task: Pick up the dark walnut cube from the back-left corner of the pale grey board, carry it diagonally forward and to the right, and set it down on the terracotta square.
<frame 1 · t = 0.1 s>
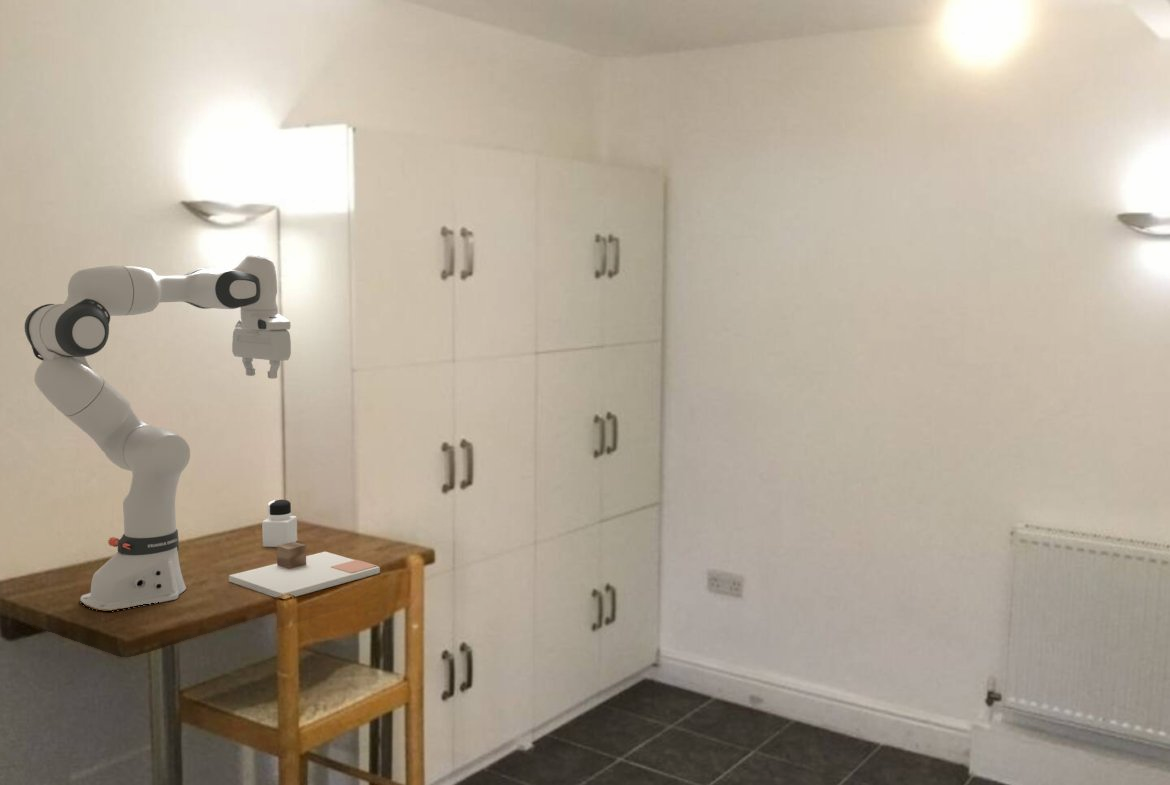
hand: (261, 376, 266), 48 cm above the table, fingers open, 8 cm apart
walnut cube: (291, 565, 265), point 1 cm above the table, touching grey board
medicine bottle: (280, 544, 291), on the table
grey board: (305, 577, 260), on the table
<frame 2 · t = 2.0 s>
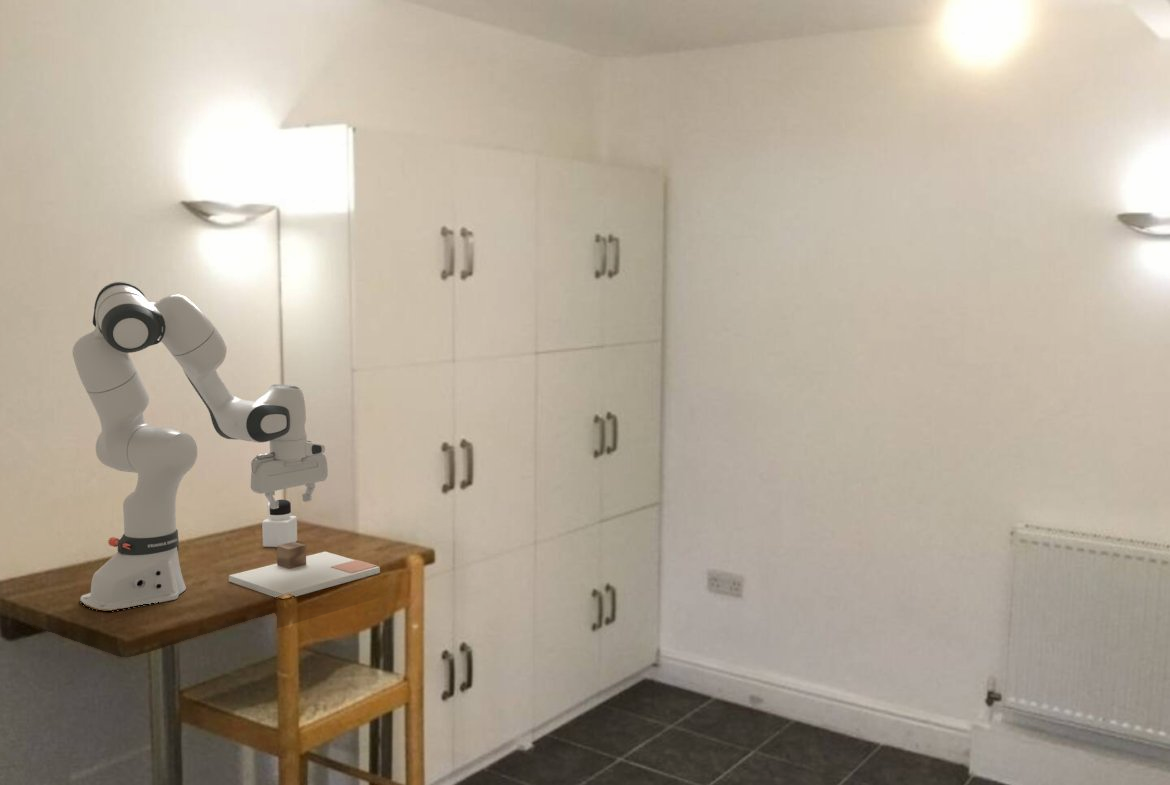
hand: (291, 504, 264), 17 cm above the table, fingers open, 8 cm apart
nothing on the table moved.
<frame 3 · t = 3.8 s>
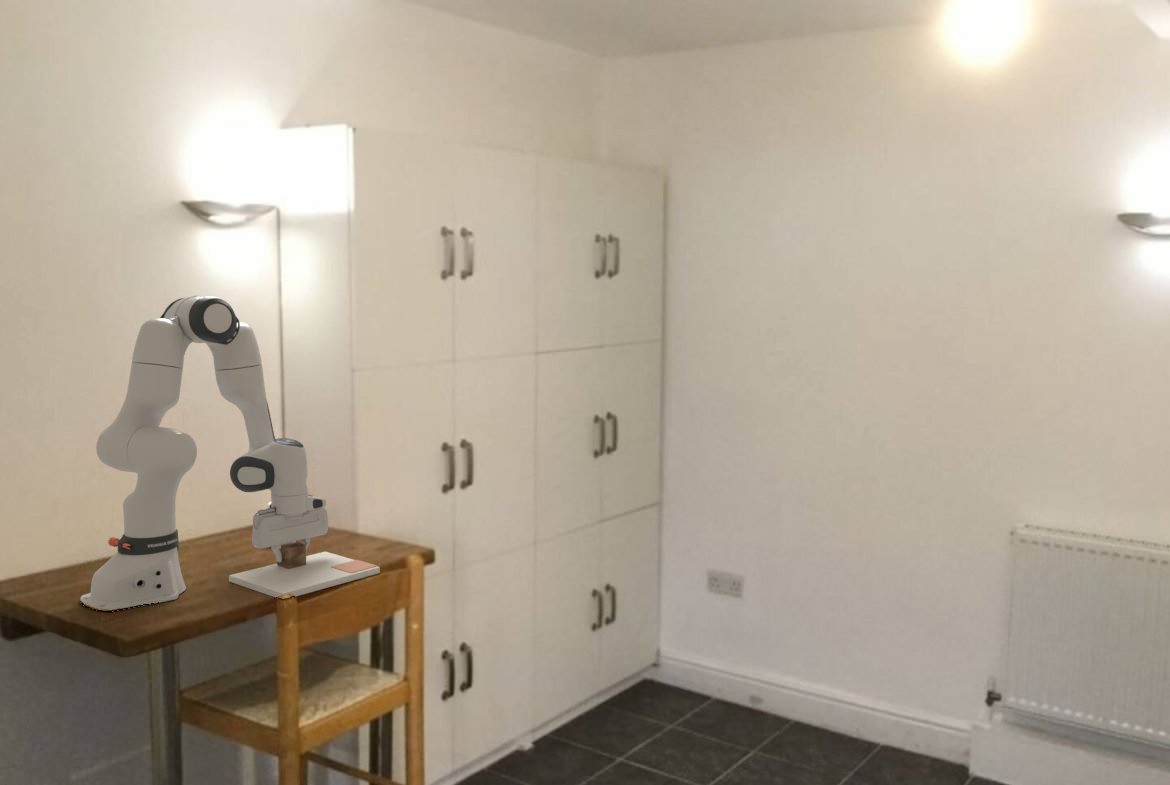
hand: (291, 558, 265), 3 cm above the table, fingers closed on walnut cube, 5 cm apart
walnut cube: (291, 565, 265), point 2 cm above the table, touching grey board, gripper
everything else where it was.
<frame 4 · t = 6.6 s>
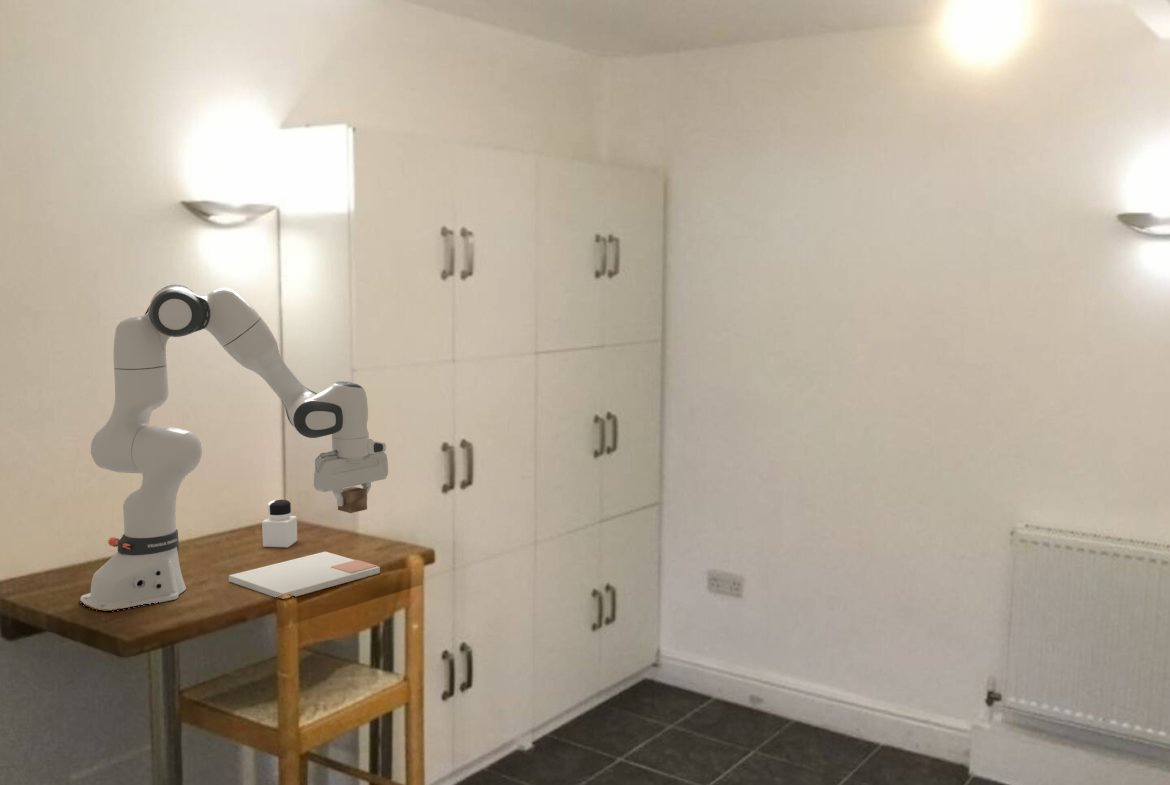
hand: (352, 503, 262), 18 cm above the table, fingers closed on walnut cube, 5 cm apart
walnut cube: (352, 509, 262), point 16 cm above the table, touching gripper
everything else where it was.
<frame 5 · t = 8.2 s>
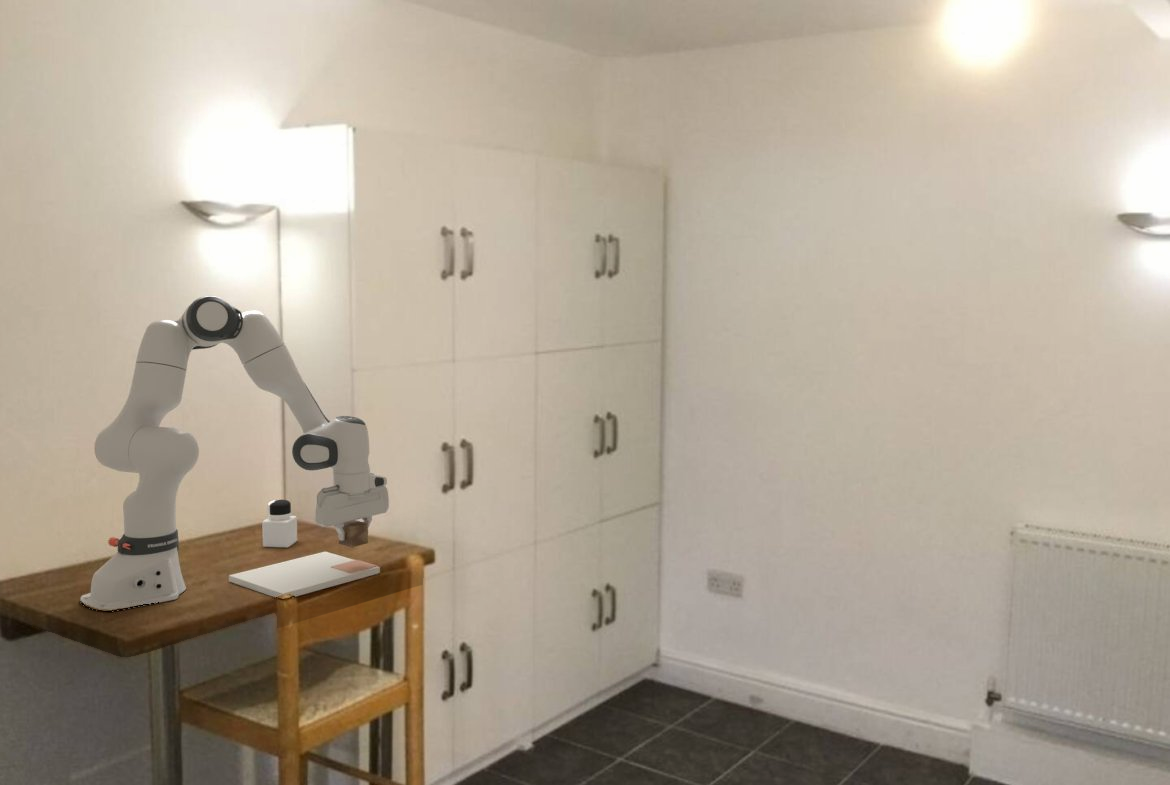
hand: (353, 537, 263), 9 cm above the table, fingers closed on walnut cube, 5 cm apart
walnut cube: (353, 543, 264), point 7 cm above the table, touching gripper
everything else where it was.
when the fingers open (5 cm above the table, at t = 9.5 s): walnut cube drops 1 cm, resting on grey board.
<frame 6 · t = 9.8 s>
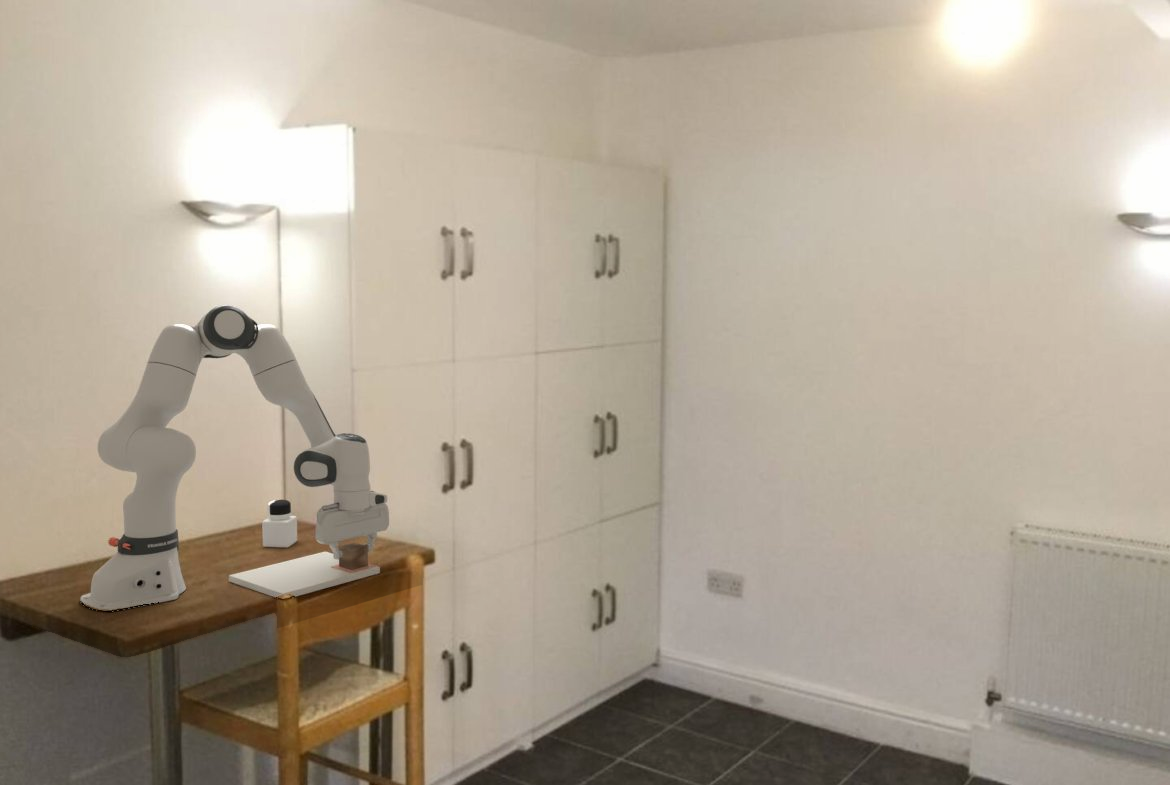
hand: (353, 554, 263), 5 cm above the table, fingers open, 8 cm apart
walnut cube: (353, 566, 264), point 2 cm above the table, touching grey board
everything else where it was.
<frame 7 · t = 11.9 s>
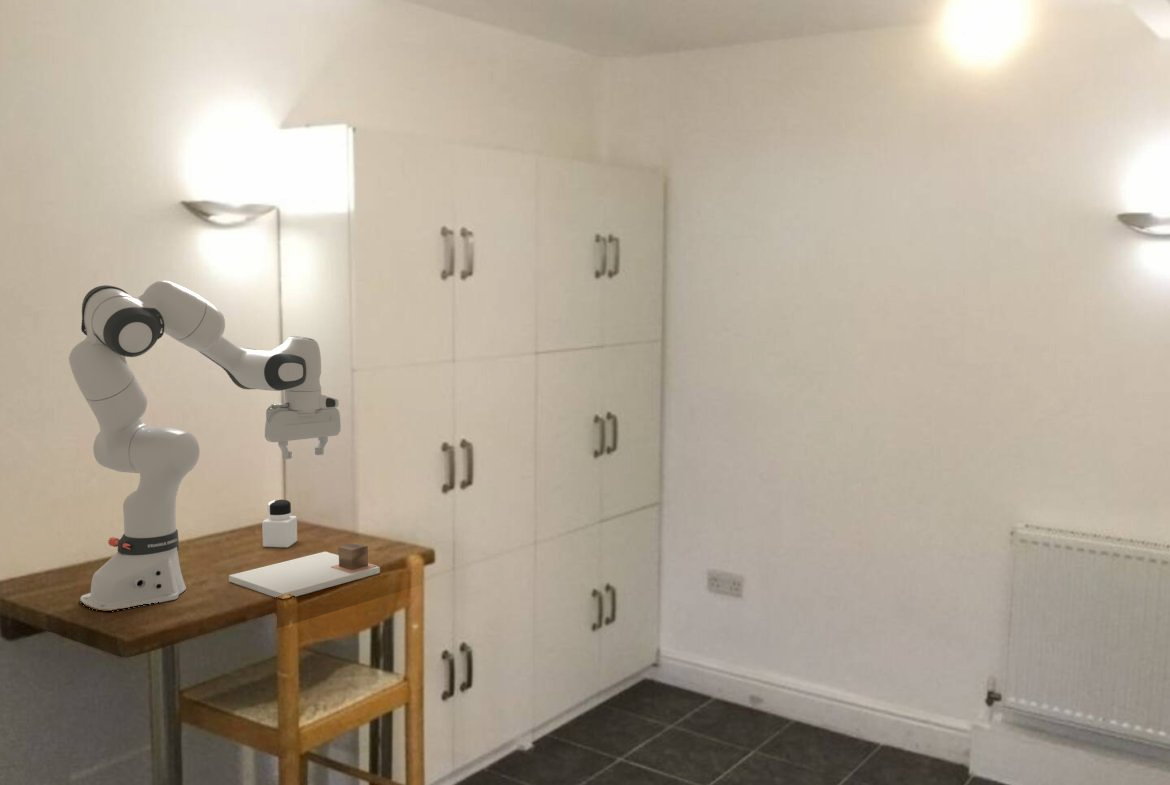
hand: (303, 456, 266), 28 cm above the table, fingers open, 8 cm apart
nothing on the table moved.
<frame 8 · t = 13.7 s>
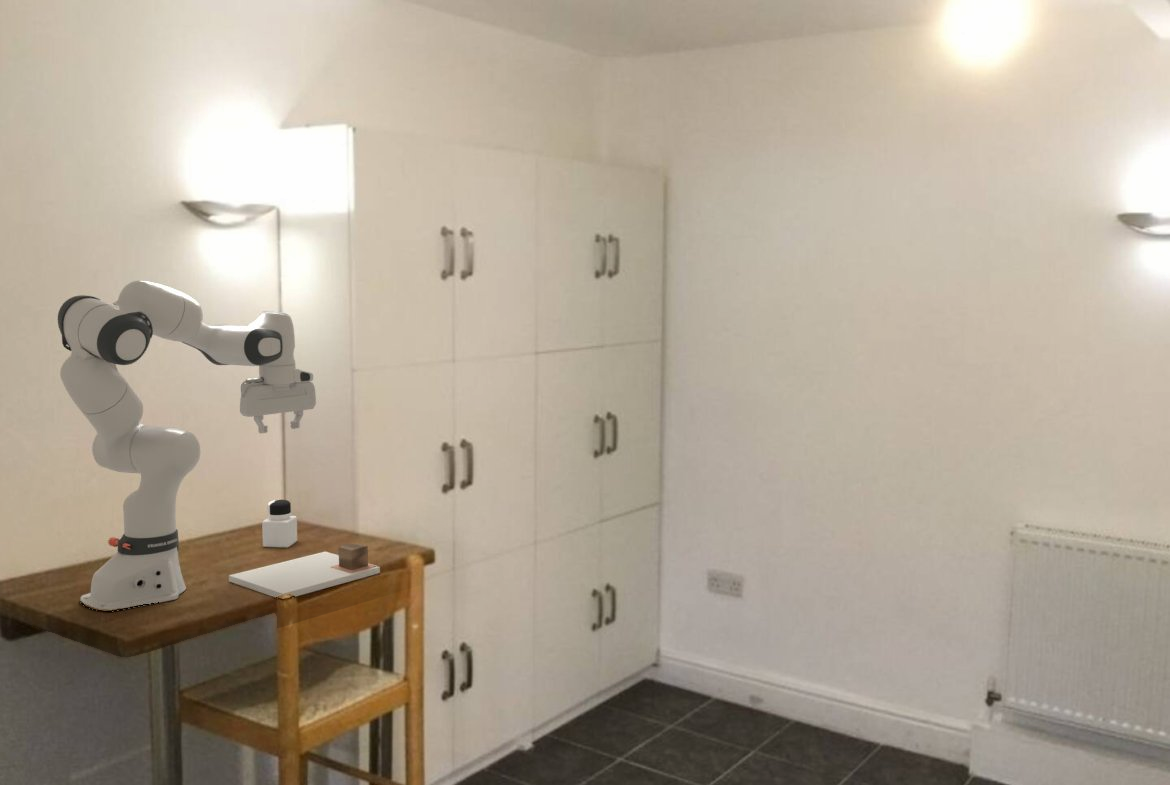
hand: (279, 430, 269), 34 cm above the table, fingers open, 8 cm apart
nothing on the table moved.
at the end: walnut cube 0.1 cm from the target spot, point 1.7 cm above the table; walnut cube tilted 0°; the gripper is holding nothing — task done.
